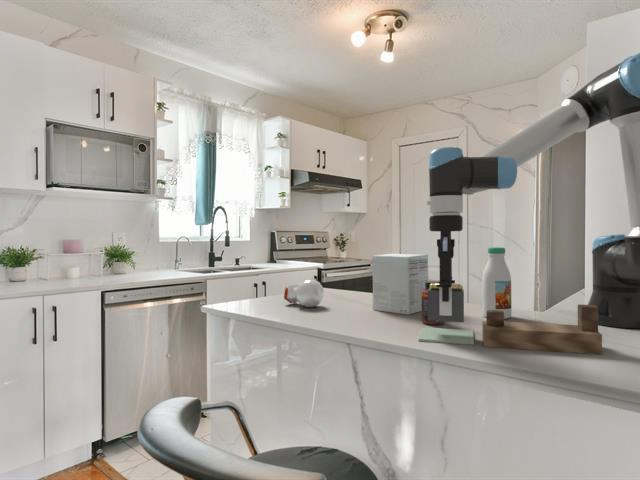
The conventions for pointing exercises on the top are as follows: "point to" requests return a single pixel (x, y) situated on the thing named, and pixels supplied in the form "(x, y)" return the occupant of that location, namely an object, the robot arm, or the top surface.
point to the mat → (447, 335)
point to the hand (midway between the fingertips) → (446, 312)
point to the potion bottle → (305, 293)
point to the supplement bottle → (425, 305)
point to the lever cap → (456, 304)
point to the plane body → (545, 333)
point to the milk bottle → (496, 283)
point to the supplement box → (399, 282)
